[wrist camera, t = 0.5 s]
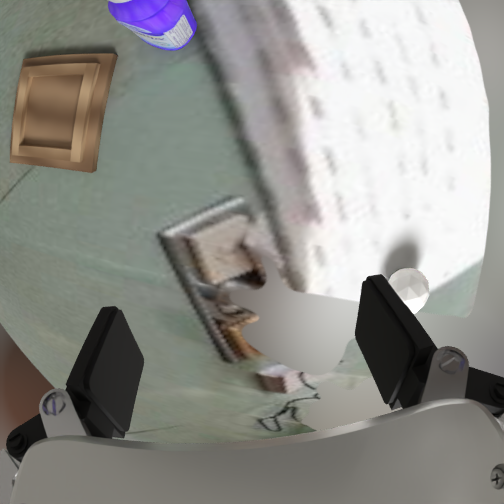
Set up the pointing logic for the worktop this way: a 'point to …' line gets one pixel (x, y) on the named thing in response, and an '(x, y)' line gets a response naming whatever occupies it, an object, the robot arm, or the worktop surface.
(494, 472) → the robot arm
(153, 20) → the bottle
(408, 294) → the geometric ball
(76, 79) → the walnut base
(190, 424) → the worktop surface
